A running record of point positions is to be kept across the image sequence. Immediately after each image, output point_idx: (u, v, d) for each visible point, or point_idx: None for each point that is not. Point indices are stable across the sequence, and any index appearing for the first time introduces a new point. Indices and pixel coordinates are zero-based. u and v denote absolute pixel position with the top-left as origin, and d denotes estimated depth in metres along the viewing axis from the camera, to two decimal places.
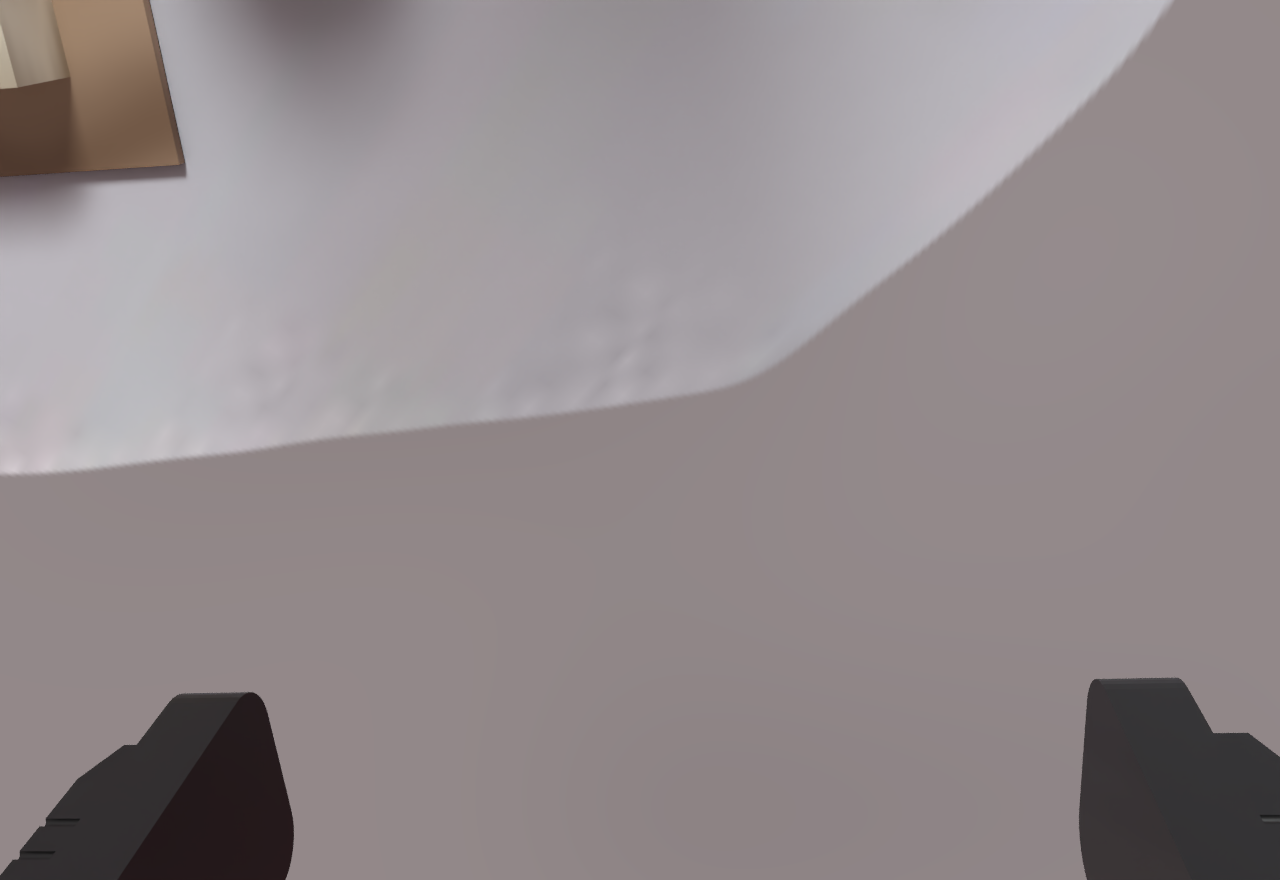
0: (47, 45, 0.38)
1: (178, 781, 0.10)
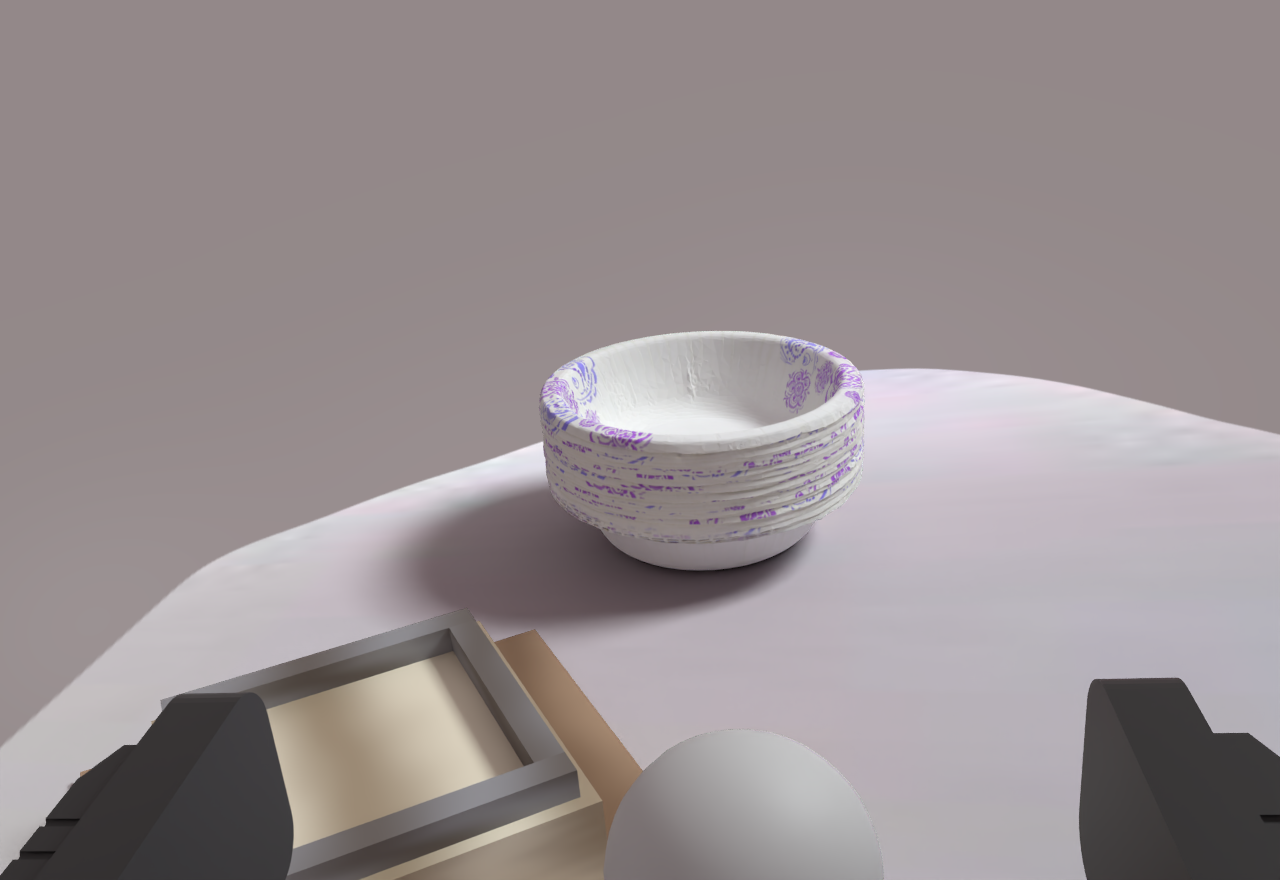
0: None
1: (178, 781, 0.10)
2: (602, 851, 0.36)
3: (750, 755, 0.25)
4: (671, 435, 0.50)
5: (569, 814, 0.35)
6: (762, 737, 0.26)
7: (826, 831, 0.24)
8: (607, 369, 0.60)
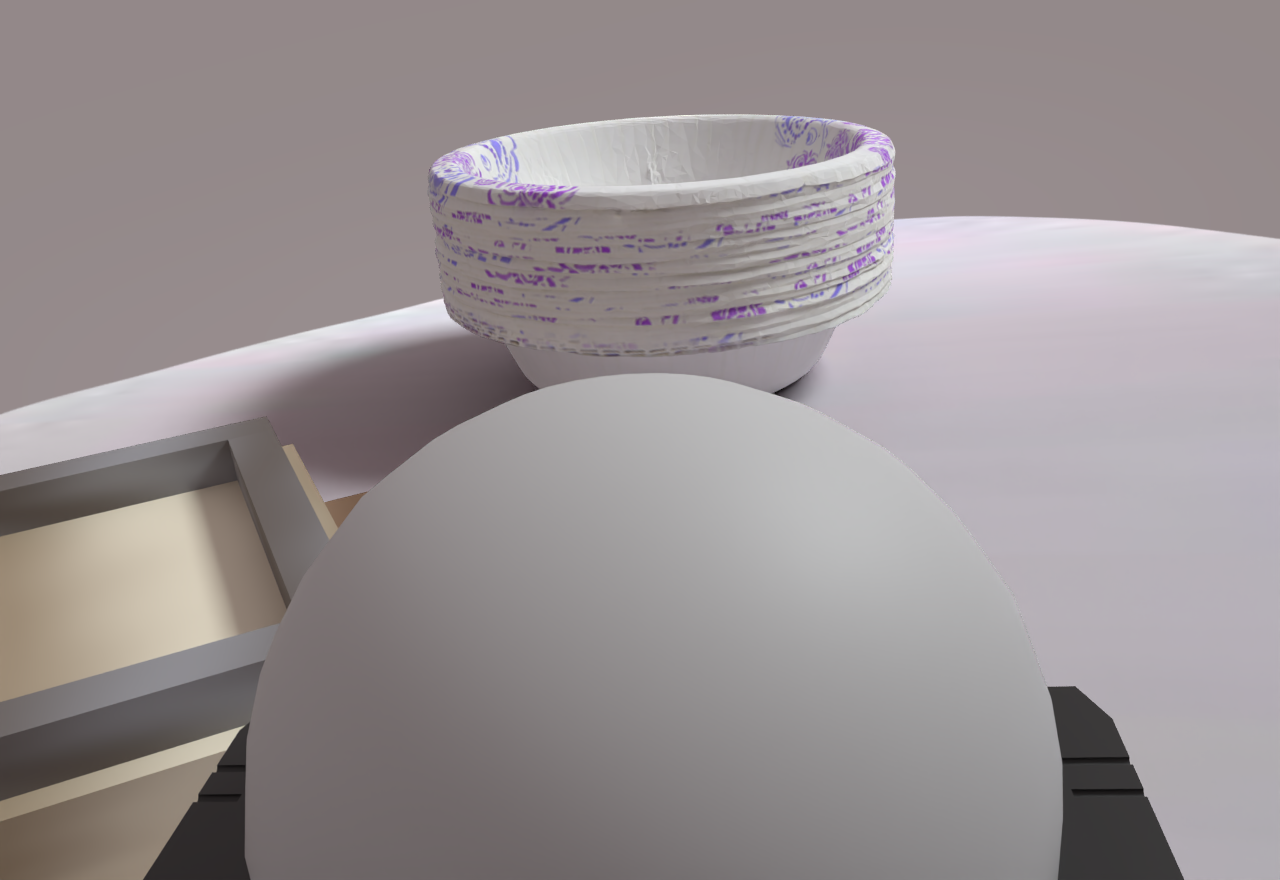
0: None
1: None
2: None
3: (672, 395, 0.08)
4: (608, 186, 0.33)
5: None
6: (714, 378, 0.09)
7: (909, 600, 0.07)
8: (535, 155, 0.43)
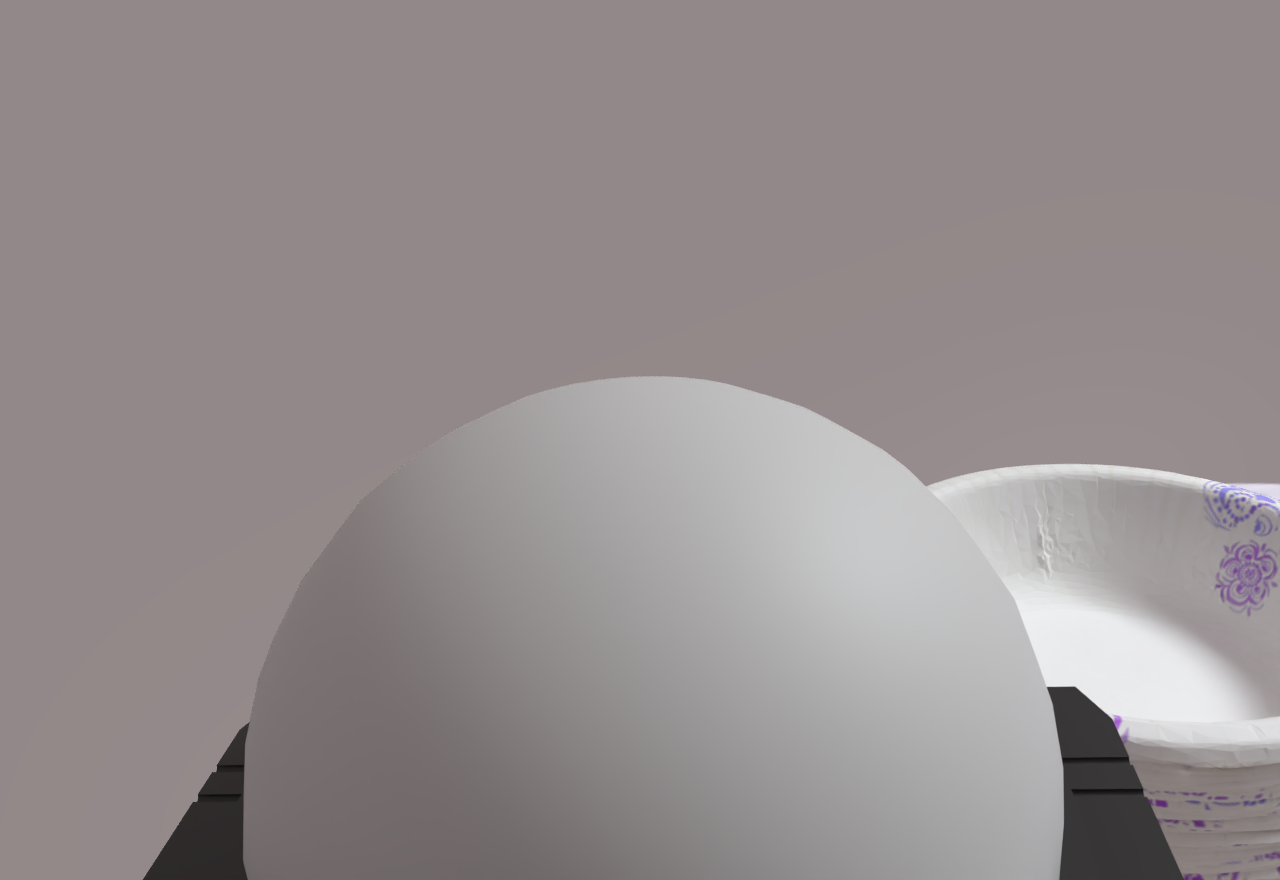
0: None
1: None
2: None
3: (671, 398, 0.08)
4: (1164, 724, 0.27)
5: None
6: (713, 382, 0.09)
7: (908, 602, 0.07)
8: None
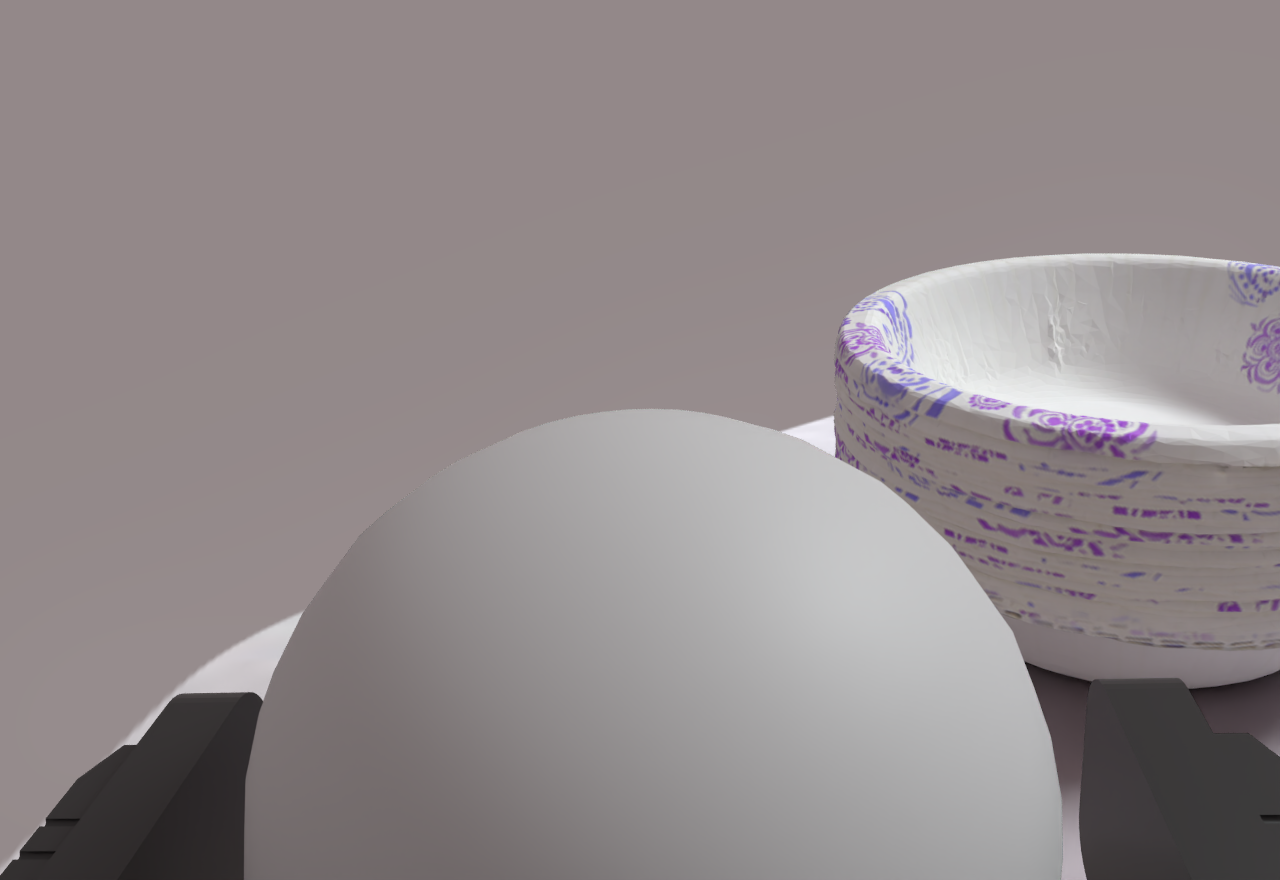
0: None
1: (178, 781, 0.10)
2: None
3: (671, 434, 0.08)
4: (1196, 426, 0.24)
5: None
6: (712, 415, 0.09)
7: (906, 642, 0.07)
8: (925, 314, 0.34)
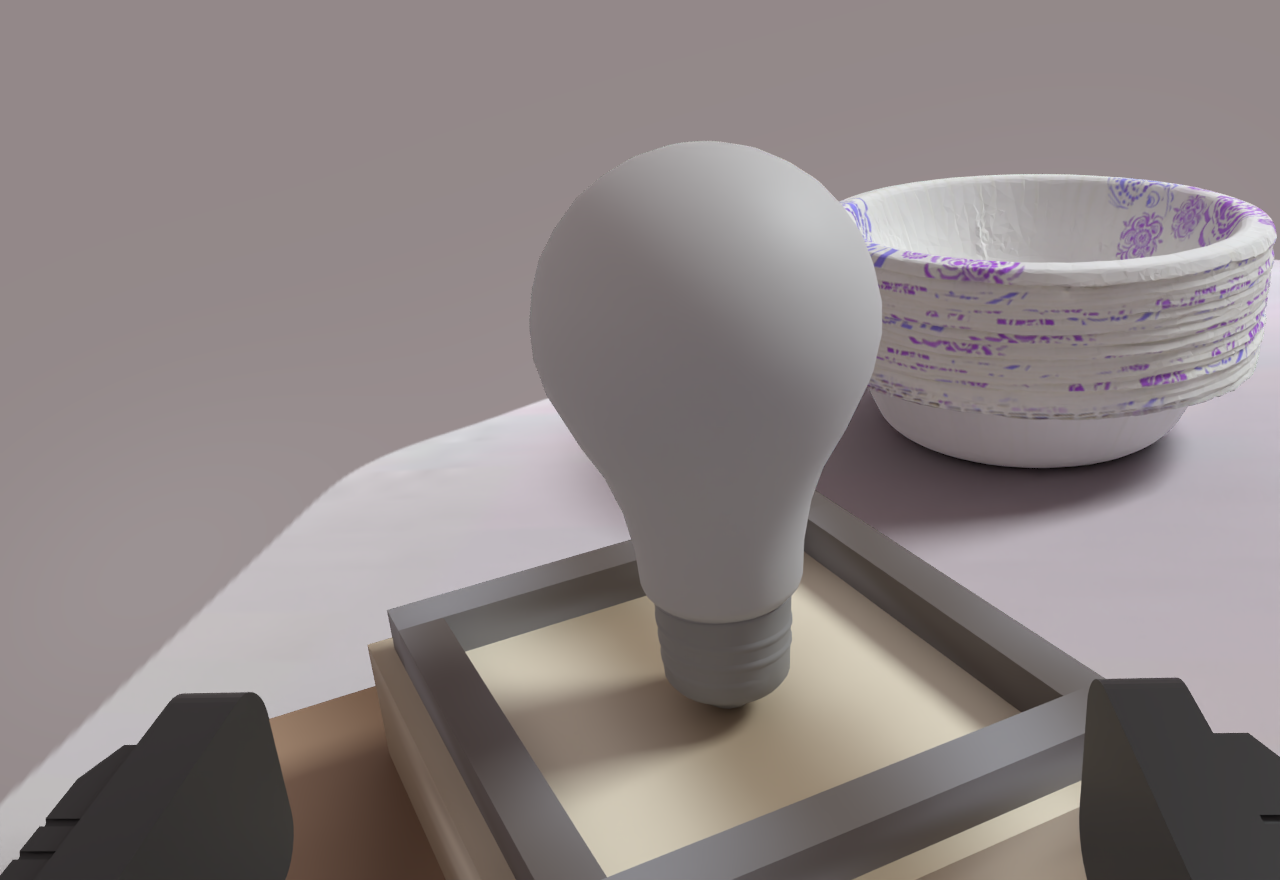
0: None
1: (178, 781, 0.10)
2: None
3: (713, 143, 0.20)
4: (1051, 263, 0.36)
5: None
6: None
7: (808, 207, 0.19)
8: (881, 216, 0.46)
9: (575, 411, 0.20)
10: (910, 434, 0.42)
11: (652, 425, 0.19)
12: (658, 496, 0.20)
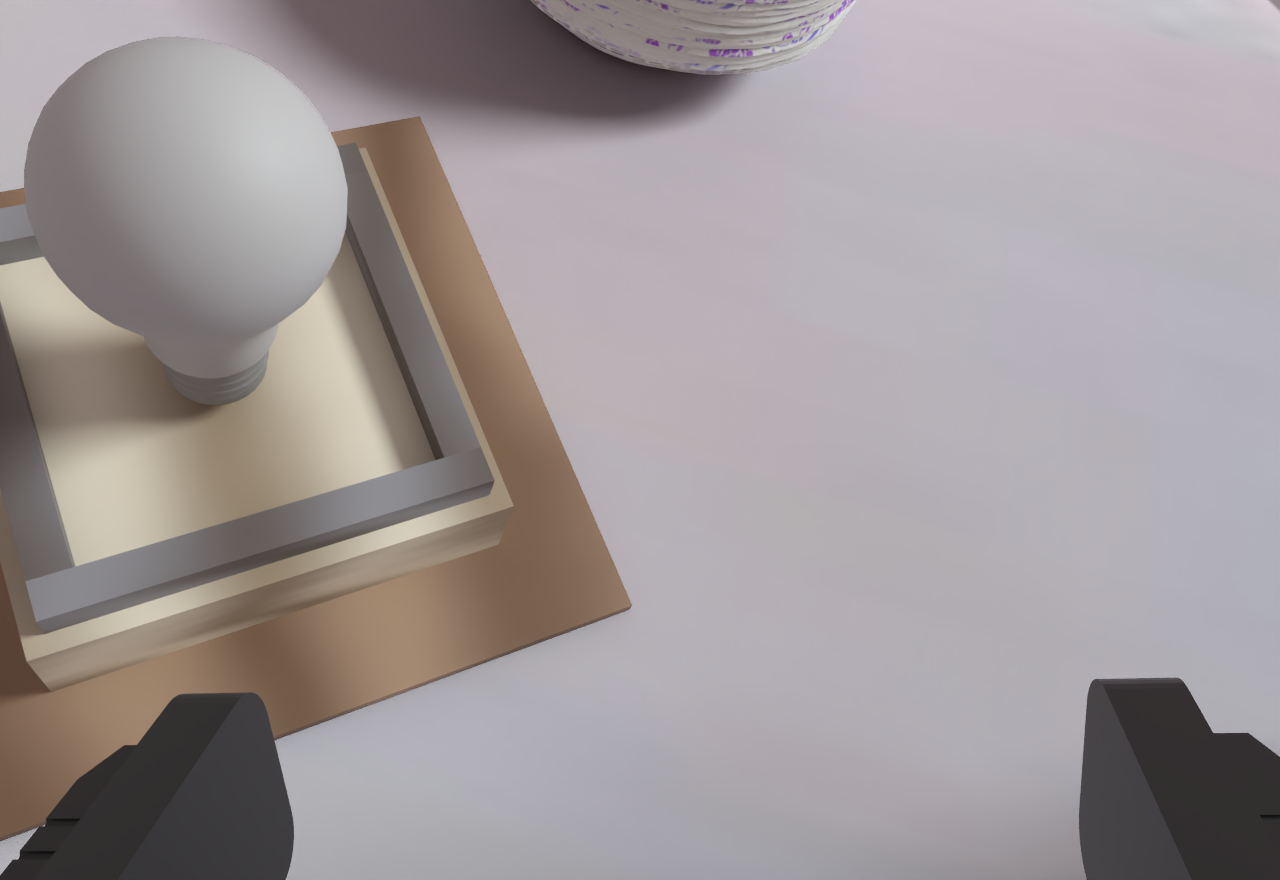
0: (89, 669, 0.30)
1: (178, 781, 0.10)
2: (497, 532, 0.33)
3: (199, 95, 0.22)
4: None
5: (476, 518, 0.31)
6: (226, 70, 0.22)
7: (266, 200, 0.22)
8: None
9: None
10: None
11: (118, 324, 0.24)
12: None
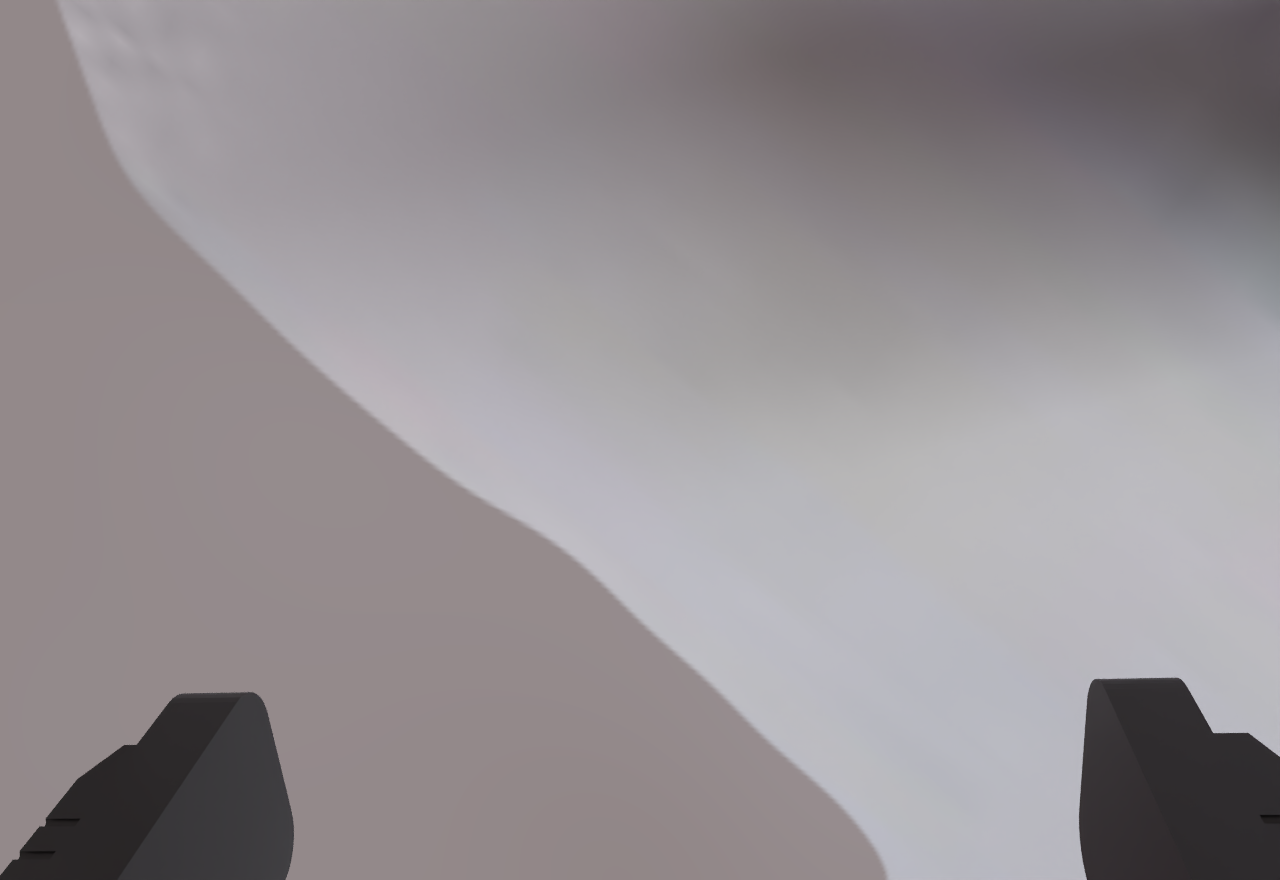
0: None
1: (178, 781, 0.10)
2: None
3: None
4: None
5: None
6: None
7: None
8: None
9: None
10: None
11: None
12: None
